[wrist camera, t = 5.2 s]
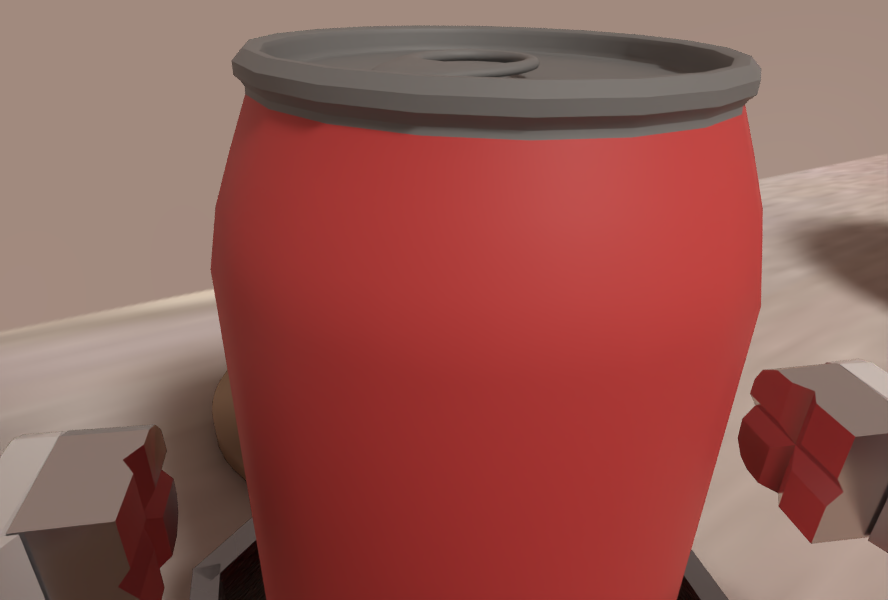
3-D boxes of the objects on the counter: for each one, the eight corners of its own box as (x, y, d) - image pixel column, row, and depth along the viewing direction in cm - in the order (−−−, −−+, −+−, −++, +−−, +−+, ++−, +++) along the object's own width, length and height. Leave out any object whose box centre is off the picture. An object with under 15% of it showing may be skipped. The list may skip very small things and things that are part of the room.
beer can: (214, 738, 12) (30, 43, 6) (420, 514, 17) (422, 16, 11) (535, 1035, 8) (759, 144, 3) (672, 648, 13) (854, 43, 8)
